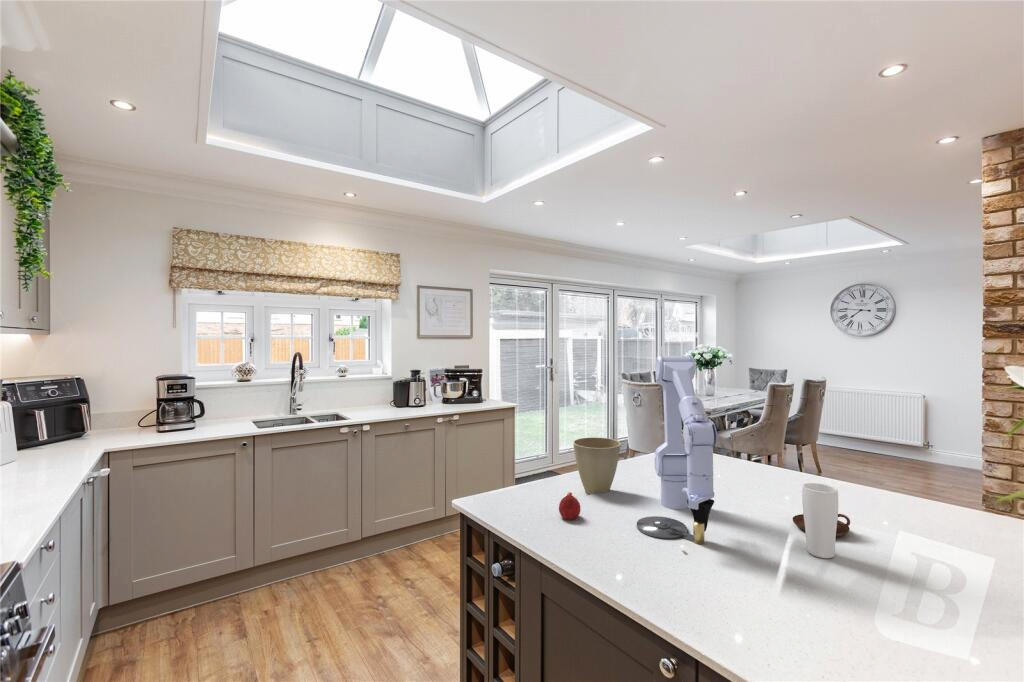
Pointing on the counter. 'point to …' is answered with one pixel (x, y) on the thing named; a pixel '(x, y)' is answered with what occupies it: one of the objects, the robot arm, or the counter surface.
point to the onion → (569, 507)
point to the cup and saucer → (841, 526)
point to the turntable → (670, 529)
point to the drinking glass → (820, 518)
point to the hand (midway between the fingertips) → (700, 530)
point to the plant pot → (596, 462)
